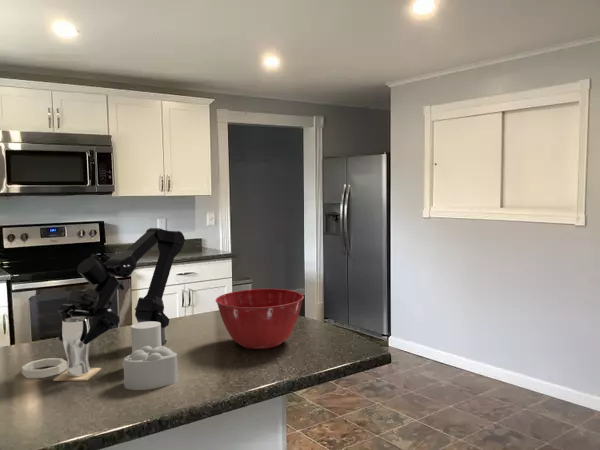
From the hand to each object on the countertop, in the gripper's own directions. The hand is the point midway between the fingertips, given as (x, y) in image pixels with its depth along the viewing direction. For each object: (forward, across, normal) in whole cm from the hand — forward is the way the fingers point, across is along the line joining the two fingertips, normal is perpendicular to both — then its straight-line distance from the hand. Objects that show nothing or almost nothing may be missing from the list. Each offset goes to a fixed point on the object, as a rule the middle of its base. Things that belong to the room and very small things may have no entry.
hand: (72, 341), depth 139 cm
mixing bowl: (-26, +32, +40) cm, 57 cm away
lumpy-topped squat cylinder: (+4, +22, +10) cm, 25 cm away
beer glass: (+5, 0, +8) cm, 9 cm away
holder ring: (+7, -11, +7) cm, 15 cm away
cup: (-3, +13, +17) cm, 22 cm away
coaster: (+6, 0, +8) cm, 10 cm away
